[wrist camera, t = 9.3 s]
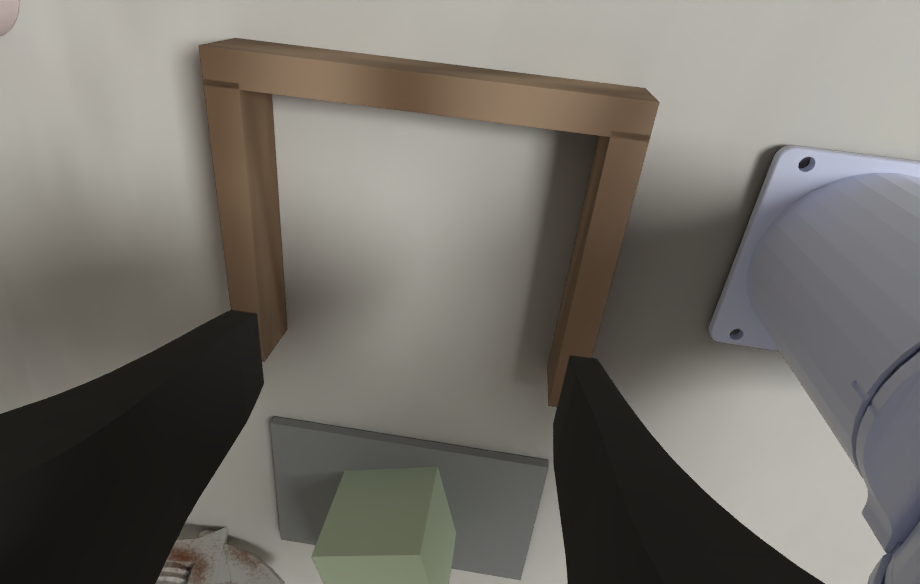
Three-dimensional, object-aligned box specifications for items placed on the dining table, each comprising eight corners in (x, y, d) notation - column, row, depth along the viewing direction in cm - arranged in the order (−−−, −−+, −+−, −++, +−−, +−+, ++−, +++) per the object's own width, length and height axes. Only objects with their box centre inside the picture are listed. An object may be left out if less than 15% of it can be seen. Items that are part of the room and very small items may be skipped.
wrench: (-115, 391, 36) (321, 560, 33) (-108, 412, 37) (318, 578, 34) (-290, 486, 29) (244, 709, 26) (-275, 509, 30) (243, 727, 27)
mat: (548, 460, 28) (548, 467, 27) (520, 572, 32) (520, 580, 32) (273, 416, 29) (270, 423, 28) (284, 531, 33) (280, 539, 33)
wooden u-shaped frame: (645, 88, 19) (659, 102, 17) (574, 372, 25) (577, 409, 23) (235, 37, 20) (198, 45, 18) (261, 325, 26) (236, 357, 24)
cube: (437, 466, 28) (420, 554, 24) (456, 533, 31) (443, 624, 26) (344, 470, 29) (311, 556, 25) (369, 535, 32) (342, 623, 27)
